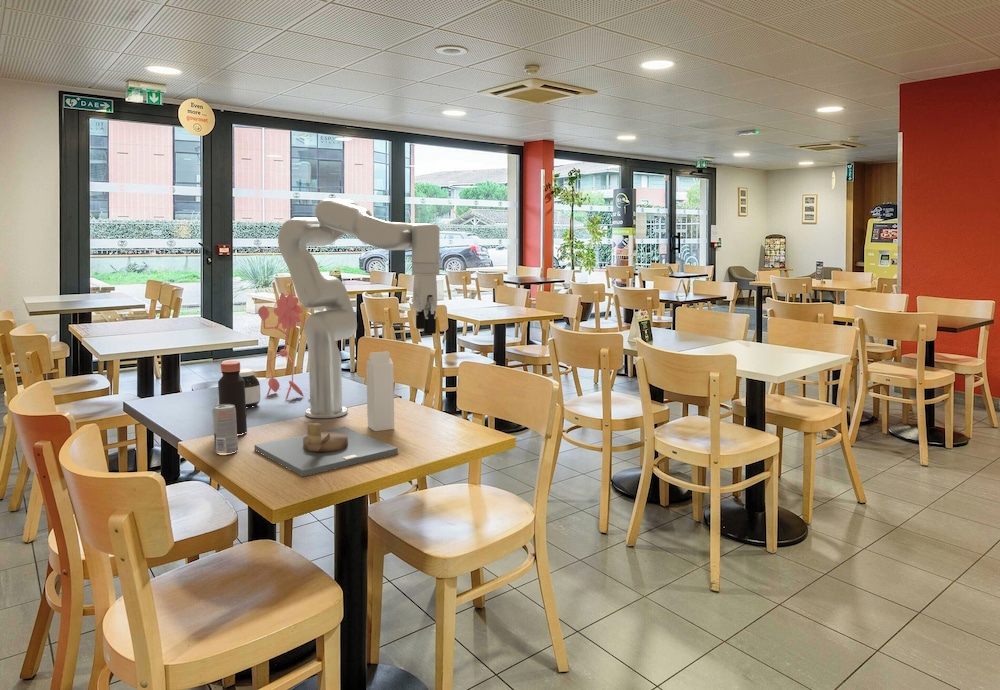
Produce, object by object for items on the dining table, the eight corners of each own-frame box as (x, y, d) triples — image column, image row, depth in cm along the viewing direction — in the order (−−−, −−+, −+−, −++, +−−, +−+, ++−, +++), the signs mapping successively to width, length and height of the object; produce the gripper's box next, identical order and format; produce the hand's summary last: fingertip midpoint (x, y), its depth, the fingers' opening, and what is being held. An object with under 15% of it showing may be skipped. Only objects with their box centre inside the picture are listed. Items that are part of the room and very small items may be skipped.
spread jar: (264, 406, 225) (263, 370, 223) (234, 413, 216) (232, 376, 214) (240, 400, 231) (238, 366, 230) (210, 407, 222) (208, 371, 220)
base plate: (254, 450, 179) (254, 444, 179) (344, 431, 197) (344, 425, 196) (302, 476, 160) (302, 469, 160) (397, 453, 178) (397, 447, 178)
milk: (394, 429, 200) (393, 353, 197) (374, 431, 197) (373, 354, 194) (387, 423, 205) (386, 349, 202) (367, 426, 202) (366, 351, 199)
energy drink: (229, 448, 181) (227, 402, 179) (242, 451, 178) (240, 405, 176) (210, 453, 177) (208, 406, 175) (223, 457, 174) (221, 410, 172)
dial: (311, 438, 184) (309, 409, 183) (352, 439, 184) (351, 410, 182) (290, 458, 168) (289, 425, 167) (335, 459, 168) (335, 426, 166)
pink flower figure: (302, 403, 228) (299, 295, 223) (248, 393, 241) (245, 291, 236) (335, 395, 241) (334, 293, 236) (283, 386, 254) (281, 290, 249)
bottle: (222, 438, 189) (218, 365, 186) (219, 432, 195) (215, 361, 192) (248, 435, 192) (245, 363, 189) (245, 429, 198) (241, 359, 195)
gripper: (405, 267, 199) (405, 327, 202) (419, 271, 183) (419, 336, 186) (431, 267, 202) (431, 326, 205) (447, 271, 186) (446, 335, 188)
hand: (425, 331), depth 195 cm, fingers open, 9 cm apart
